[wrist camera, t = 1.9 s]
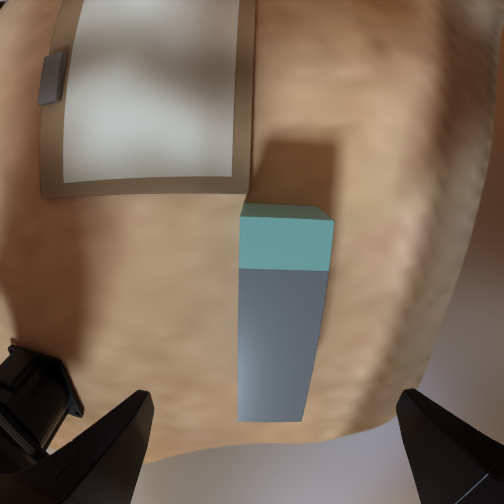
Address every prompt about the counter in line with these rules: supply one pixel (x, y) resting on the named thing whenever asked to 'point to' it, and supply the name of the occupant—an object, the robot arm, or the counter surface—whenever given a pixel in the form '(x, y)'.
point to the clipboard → (148, 98)
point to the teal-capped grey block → (280, 307)
